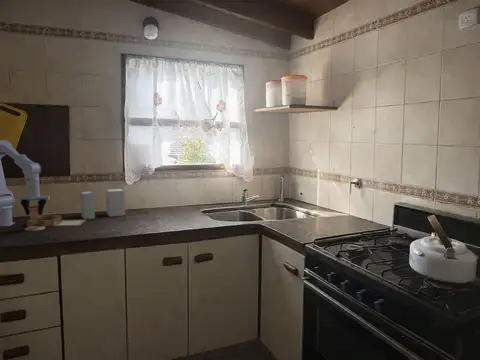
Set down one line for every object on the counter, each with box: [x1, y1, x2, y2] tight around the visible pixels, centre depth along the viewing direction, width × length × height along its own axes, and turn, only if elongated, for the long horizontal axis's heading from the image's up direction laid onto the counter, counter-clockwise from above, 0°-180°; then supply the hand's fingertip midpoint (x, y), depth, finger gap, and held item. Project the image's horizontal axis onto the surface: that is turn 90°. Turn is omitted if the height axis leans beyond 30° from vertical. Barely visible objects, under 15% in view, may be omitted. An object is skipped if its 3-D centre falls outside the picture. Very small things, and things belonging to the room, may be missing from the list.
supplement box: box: [105, 188, 126, 217], centre depth 232 cm, size 9×9×15 cm
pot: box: [28, 204, 42, 220], centre depth 194 cm, size 6×6×6 cm
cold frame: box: [26, 214, 63, 228], centre depth 205 cm, size 13×13×4 cm
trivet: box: [24, 226, 46, 232], centre depth 195 cm, size 9×9×1 cm
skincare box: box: [79, 191, 96, 220], centre depth 222 cm, size 8×6×15 cm
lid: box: [54, 219, 87, 227], centre depth 207 cm, size 12×13×1 cm
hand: (34, 214), depth 194 cm, fingers closed on pot, 5 cm apart
